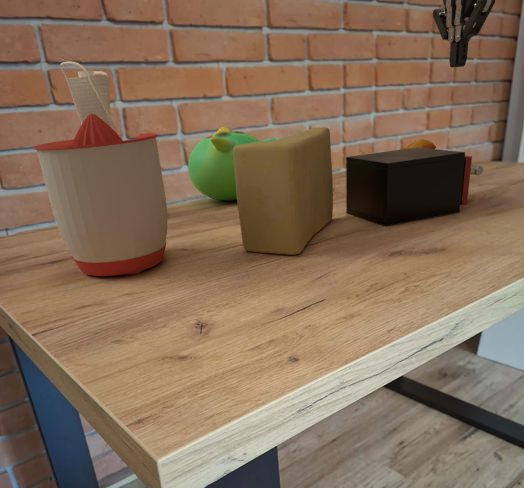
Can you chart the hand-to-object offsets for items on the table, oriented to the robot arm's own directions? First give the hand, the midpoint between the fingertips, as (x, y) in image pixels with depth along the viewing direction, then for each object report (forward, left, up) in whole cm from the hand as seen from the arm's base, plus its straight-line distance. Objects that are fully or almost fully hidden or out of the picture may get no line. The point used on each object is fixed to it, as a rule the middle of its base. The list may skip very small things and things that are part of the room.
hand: (457, 66), depth 90 cm
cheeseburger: (0, -15, -22) cm, 27 cm away
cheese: (+32, +19, -22) cm, 43 cm away
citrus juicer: (+59, +25, -22) cm, 68 cm away
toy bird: (+41, -17, -22) cm, 50 cm away
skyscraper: (+65, -6, -22) cm, 69 cm away
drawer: (+8, +10, -21) cm, 25 cm away
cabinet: (+13, +11, -22) cm, 28 cm away
